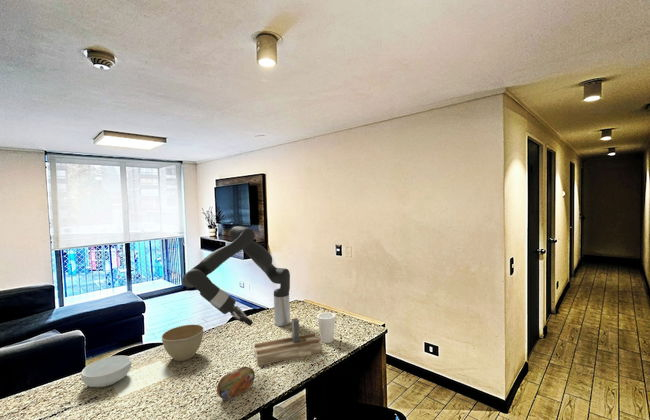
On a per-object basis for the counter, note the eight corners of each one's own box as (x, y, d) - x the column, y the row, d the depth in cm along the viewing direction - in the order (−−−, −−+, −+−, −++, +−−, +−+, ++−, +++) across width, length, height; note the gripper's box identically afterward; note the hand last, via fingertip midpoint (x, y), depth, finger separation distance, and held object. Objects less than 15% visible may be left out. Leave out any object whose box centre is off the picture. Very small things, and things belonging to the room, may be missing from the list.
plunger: (292, 341, 149) (291, 318, 148) (297, 339, 150) (297, 317, 149) (294, 344, 145) (293, 322, 144) (300, 343, 146) (299, 321, 145)
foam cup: (336, 336, 162) (335, 312, 162) (335, 344, 153) (334, 318, 152) (319, 336, 163) (318, 312, 163) (316, 344, 154) (316, 318, 153)
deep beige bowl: (191, 344, 158) (190, 321, 158) (212, 353, 147) (211, 329, 147) (155, 360, 143) (154, 334, 143) (175, 371, 133) (174, 343, 132)
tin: (220, 404, 109) (219, 381, 109) (216, 401, 111) (215, 378, 111) (255, 385, 120) (254, 364, 120) (251, 382, 122) (250, 361, 122)
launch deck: (254, 353, 146) (254, 342, 146) (313, 341, 156) (313, 331, 156) (257, 365, 135) (257, 353, 135) (321, 352, 145) (320, 341, 145)
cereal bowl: (92, 399, 115) (91, 380, 115) (75, 386, 124) (74, 369, 123) (139, 376, 129) (139, 360, 129) (120, 366, 138) (120, 351, 138)
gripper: (228, 298, 130) (259, 322, 134) (227, 290, 142) (255, 312, 147) (216, 312, 128) (247, 336, 133) (216, 303, 141) (244, 325, 145)
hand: (251, 323), depth 140 cm, fingers closed
